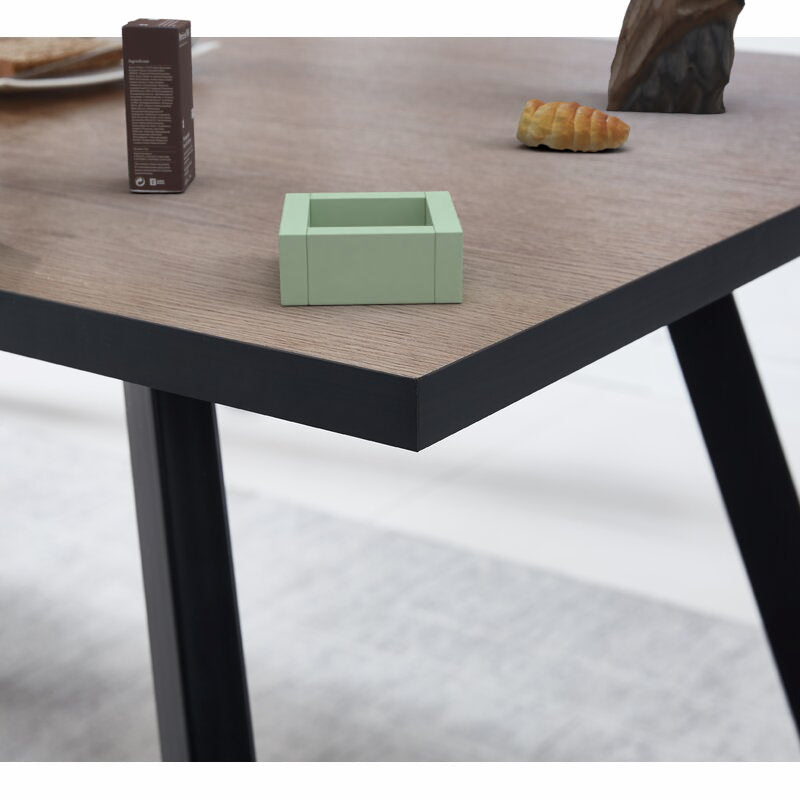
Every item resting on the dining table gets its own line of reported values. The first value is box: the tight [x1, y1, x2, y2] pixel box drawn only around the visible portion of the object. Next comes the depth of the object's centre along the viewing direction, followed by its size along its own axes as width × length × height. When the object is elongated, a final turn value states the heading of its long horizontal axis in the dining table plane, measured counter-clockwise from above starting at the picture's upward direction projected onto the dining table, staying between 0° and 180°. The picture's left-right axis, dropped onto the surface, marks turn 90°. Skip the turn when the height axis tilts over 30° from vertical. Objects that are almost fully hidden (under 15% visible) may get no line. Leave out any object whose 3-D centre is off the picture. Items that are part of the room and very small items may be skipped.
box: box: [121, 17, 196, 194], centre depth 97 cm, size 6×4×12 cm
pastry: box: [515, 98, 631, 153], centre depth 113 cm, size 9×7×4 cm
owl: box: [606, 0, 746, 115], centre depth 130 cm, size 13×13×20 cm
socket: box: [277, 190, 464, 307], centre depth 75 cm, size 10×10×4 cm
